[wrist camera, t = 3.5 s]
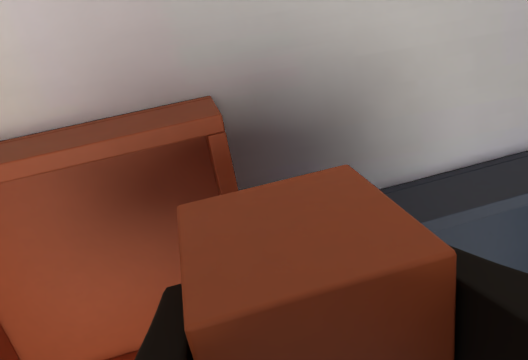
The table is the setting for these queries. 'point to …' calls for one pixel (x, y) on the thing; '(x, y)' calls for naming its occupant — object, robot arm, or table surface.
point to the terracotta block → (314, 274)
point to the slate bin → (475, 208)
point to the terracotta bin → (100, 227)
